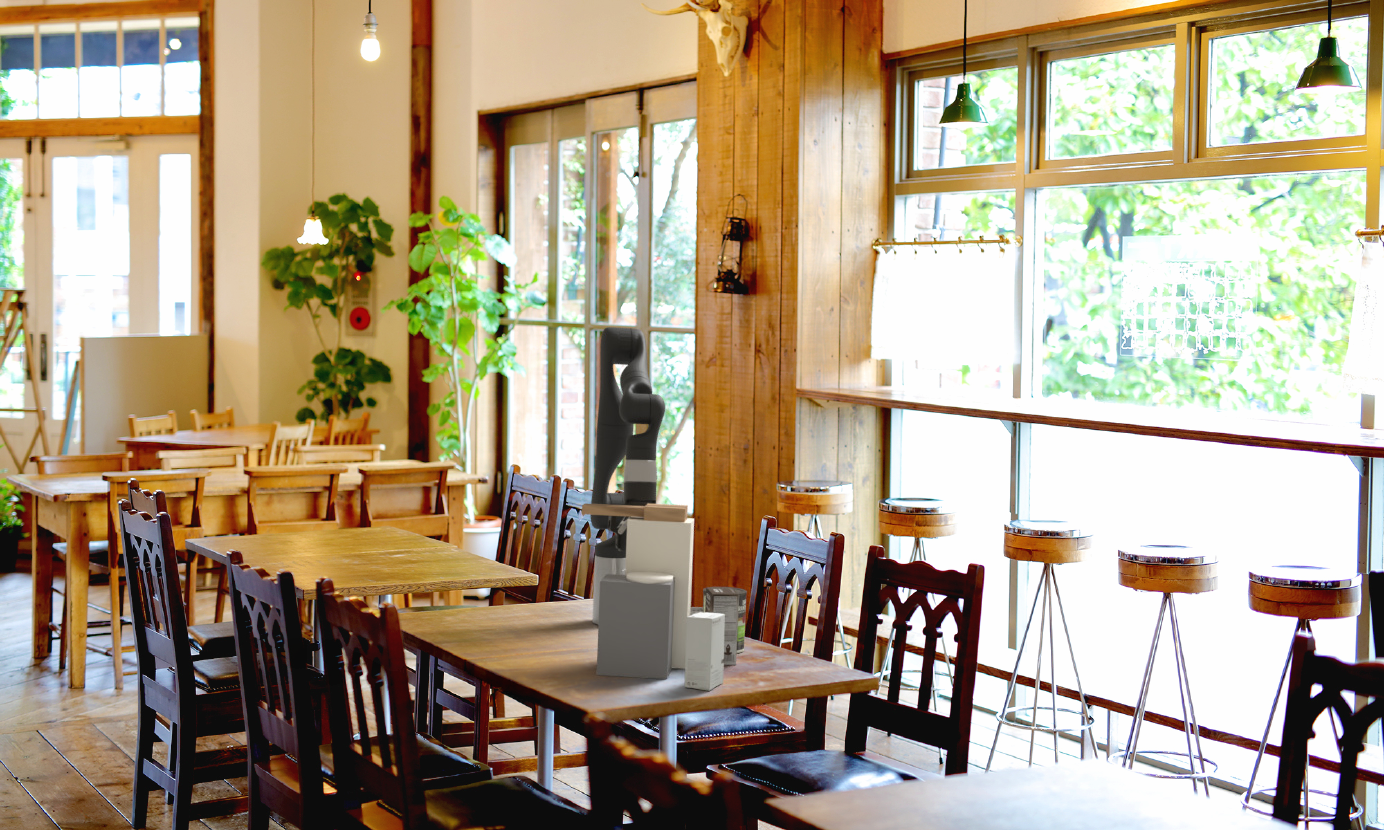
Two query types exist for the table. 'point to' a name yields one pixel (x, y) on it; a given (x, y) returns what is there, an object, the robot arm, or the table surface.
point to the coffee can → (741, 617)
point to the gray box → (636, 625)
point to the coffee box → (728, 604)
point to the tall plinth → (665, 566)
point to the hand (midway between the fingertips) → (638, 551)
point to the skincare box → (704, 650)
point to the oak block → (640, 511)
